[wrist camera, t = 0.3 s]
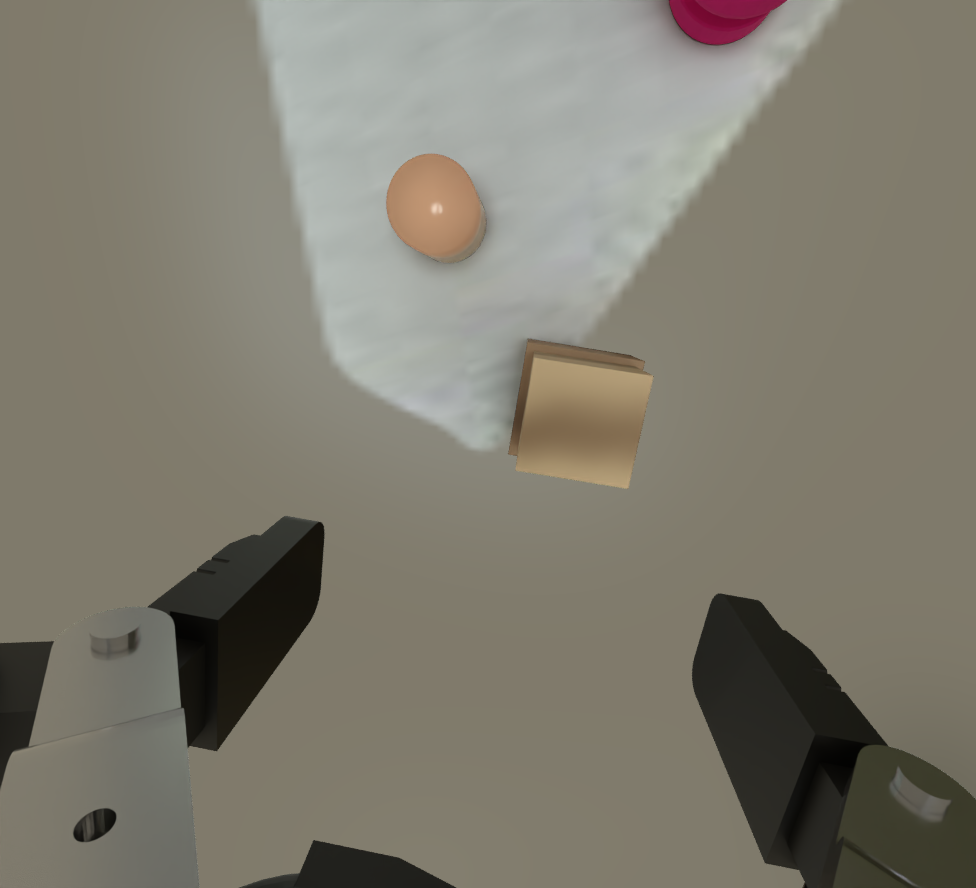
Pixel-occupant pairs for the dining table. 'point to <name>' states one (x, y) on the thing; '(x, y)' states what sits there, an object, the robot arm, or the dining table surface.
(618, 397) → the tower top
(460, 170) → the rounded stamp handle
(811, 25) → the dining table surface
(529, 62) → the dining table surface
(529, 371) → the tower base
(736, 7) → the pepper mill
